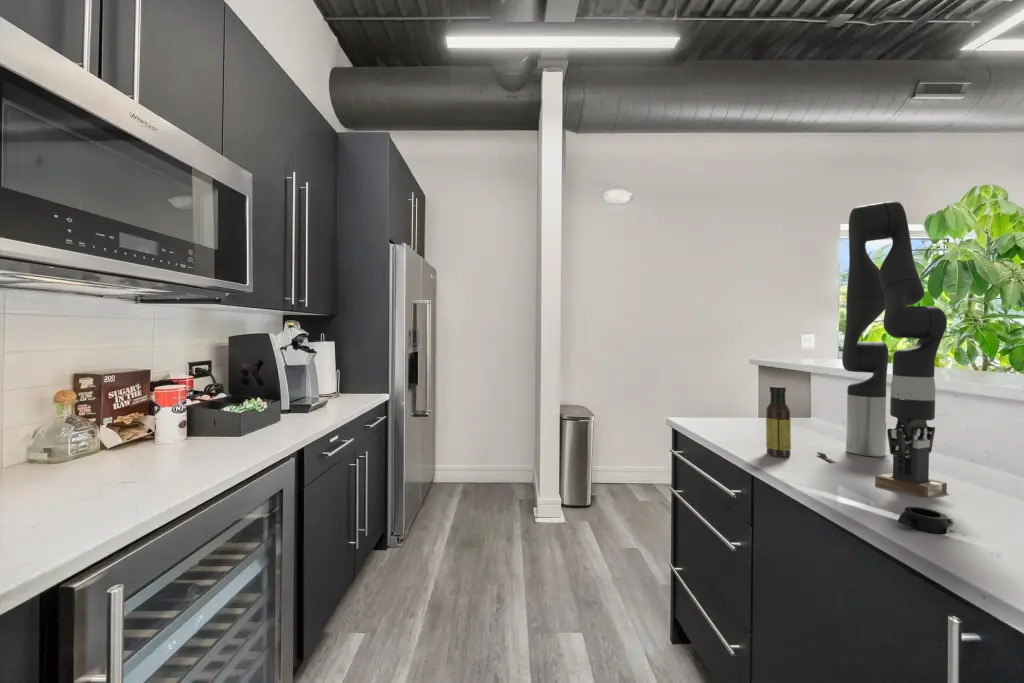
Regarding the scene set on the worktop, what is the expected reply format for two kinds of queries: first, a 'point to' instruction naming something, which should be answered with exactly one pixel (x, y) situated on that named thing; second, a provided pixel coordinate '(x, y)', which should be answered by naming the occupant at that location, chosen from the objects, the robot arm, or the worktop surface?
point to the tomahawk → (826, 458)
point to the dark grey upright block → (916, 463)
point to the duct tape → (924, 520)
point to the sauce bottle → (778, 424)
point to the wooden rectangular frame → (911, 486)
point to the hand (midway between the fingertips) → (910, 473)
